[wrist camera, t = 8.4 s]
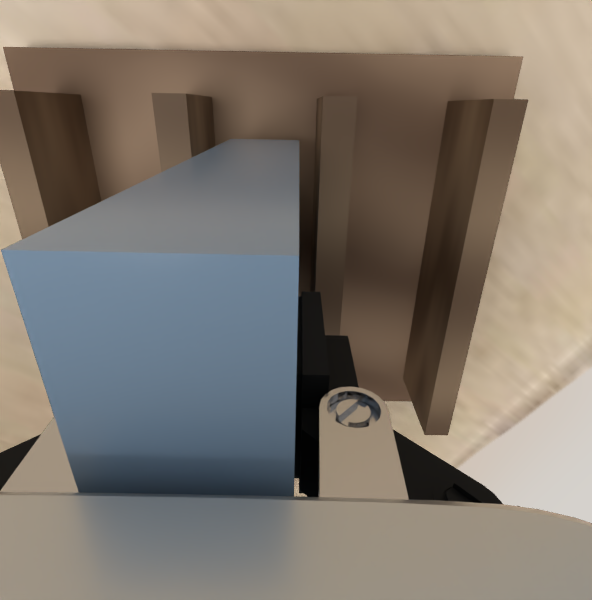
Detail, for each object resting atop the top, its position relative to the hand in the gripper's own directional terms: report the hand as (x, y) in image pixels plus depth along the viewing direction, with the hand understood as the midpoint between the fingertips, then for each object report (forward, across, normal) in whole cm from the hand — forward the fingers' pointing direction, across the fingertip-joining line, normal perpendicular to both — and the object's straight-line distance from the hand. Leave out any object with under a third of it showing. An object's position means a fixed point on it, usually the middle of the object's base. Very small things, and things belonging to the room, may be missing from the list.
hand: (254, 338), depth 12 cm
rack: (+8, 0, 0) cm, 8 cm away
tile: (+5, 0, 0) cm, 5 cm away
